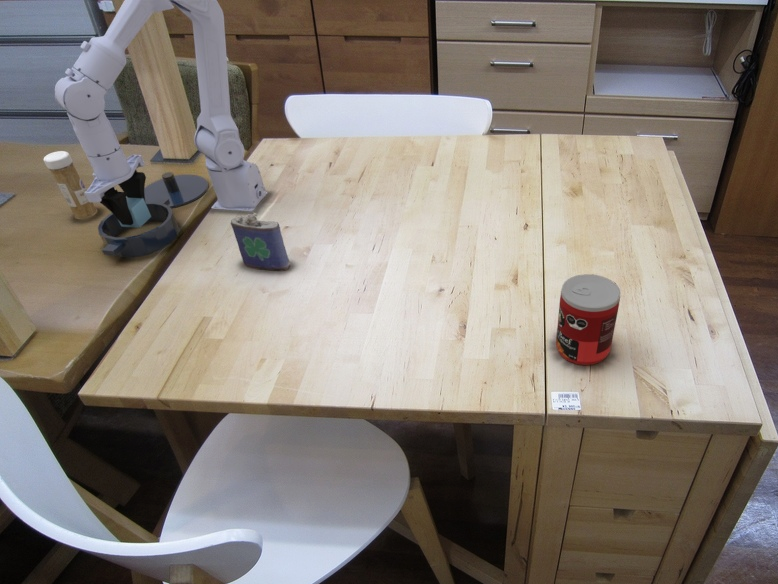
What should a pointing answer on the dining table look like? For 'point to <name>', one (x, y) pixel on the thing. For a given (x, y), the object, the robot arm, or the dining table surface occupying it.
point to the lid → (176, 189)
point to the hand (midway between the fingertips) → (134, 217)
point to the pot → (145, 241)
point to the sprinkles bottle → (70, 184)
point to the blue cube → (137, 212)
